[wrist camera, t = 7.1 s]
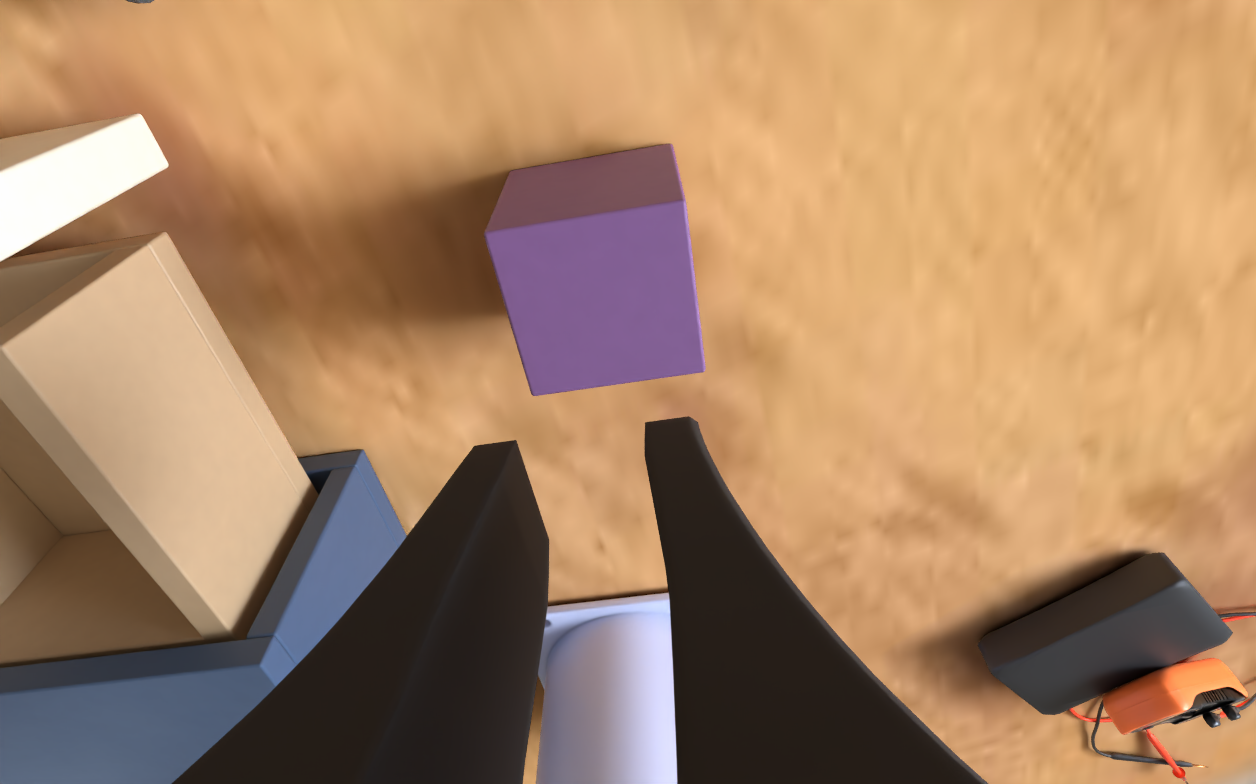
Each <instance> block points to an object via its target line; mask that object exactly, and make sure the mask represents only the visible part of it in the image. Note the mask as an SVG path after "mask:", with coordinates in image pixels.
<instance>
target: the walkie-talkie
mask: <svg viewBox="0 0 1256 784" xmlns="http://www.w3.org/2000/svg"><path fill="white" fill-rule="evenodd" d="M127 1H129V2H133V3H151V2H152V1H154V0H127Z"/></svg>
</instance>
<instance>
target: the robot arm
mask: <svg viewBox="0 0 1256 784" xmlns="http://www.w3.org/2000/svg"><path fill="white" fill-rule="evenodd" d="M645 460H646V465H647V471H648V476H649V481H650V487H651V492H652V498H653V503H654V508H655V514H656V519H657V524H658V530H659V535H660V541H661V546H662V551H663V557H664V562H665V568H666V575H667V583H668V591H669V593H661V594H652V595H643V596H635V597H626V598H617V599H609V600H600V601H591V602H583V603H574V604H565V605H557V606H548V581H549V538H548V535H547V532H546V529H545V526H544V523H543V520H542V517H541V514H540V511H539V508H538V505H537V502H536V499H535V496H534V493H533V490H532V487H531V484H530V481H529V478H528V475H527V472H526V469H525V466H524V463H523V460H522V457H521V454H520V451H519V448H518V444H517V441H516V440H514V441H506V442H499V443H492V444H484V445H477V446H474V447H473V448H472V450H471V451H470V452H469V454H468V455H467V456H466V458H465V459H464V460H463V462H462V463H461V464H460V466H459V467H458V468H457V470H456V471H455V472H454V474H453V475H452V476H451V478H450V479H449V480H448V482H447V483H446V485H445V486H444V487H443V489H442V490H441V491H440V493H439V494H438V496H437V497H436V498H435V500H434V501H433V502H432V504H431V505H430V506H429V508H428V509H427V510H426V512H425V513H424V515H423V516H422V517H421V519H420V520H419V521H418V523H417V524H416V525H415V526H414V528H413V529H412V530H411V532H410V533H409V534H408V536H407V537H406V538H405V540H404V541H403V542H402V543H401V545H400V546H399V547H398V549H397V550H396V551H395V553H394V554H393V555H392V556H391V558H390V559H389V560H388V562H387V563H386V564H385V565H384V567H383V568H382V569H381V570H380V572H379V573H378V574H377V575H376V576H375V577H374V579H373V580H372V581H371V582H370V583H369V585H368V586H367V587H366V588H365V589H364V591H363V592H362V593H361V594H360V595H359V597H358V598H357V599H356V600H355V601H354V603H353V604H352V605H351V606H350V607H349V609H348V610H347V611H346V612H345V613H344V614H343V616H342V617H341V618H340V619H339V620H338V622H337V623H336V624H335V625H334V626H333V627H332V628H331V629H330V630H329V632H328V633H327V634H326V635H325V636H324V637H323V638H322V639H321V640H320V641H319V642H318V643H317V645H316V646H315V647H314V648H313V649H312V650H311V651H310V652H309V653H308V654H307V655H306V656H305V657H304V658H303V659H302V660H301V661H300V662H299V663H298V665H297V666H296V667H295V668H294V669H293V670H292V671H291V672H290V673H289V674H288V675H287V676H286V677H285V678H284V679H283V680H282V681H281V682H280V683H279V684H278V685H277V686H276V687H275V688H274V689H273V690H272V691H271V692H270V693H269V694H268V695H267V696H266V697H265V698H264V699H263V700H262V701H261V702H260V703H259V704H258V705H257V706H256V707H255V708H254V709H253V710H252V711H250V712H249V713H248V714H247V715H246V716H245V717H244V718H243V719H242V720H241V721H239V722H238V723H237V724H236V725H235V726H234V727H233V728H232V729H231V730H230V731H229V732H227V733H226V734H225V735H224V736H223V737H222V738H221V739H220V740H219V741H218V742H217V743H215V744H214V745H213V746H212V747H211V748H210V749H209V750H208V751H207V752H206V753H205V754H203V755H202V756H201V757H200V758H199V759H198V760H197V761H196V762H195V763H194V764H193V765H191V766H190V767H189V768H188V769H187V770H186V771H185V772H184V773H183V774H182V775H180V776H179V777H178V778H177V779H176V780H175V781H174V782H173V783H171V784H523V775H524V765H525V757H526V751H527V744H528V737H529V731H530V724H531V717H532V710H533V704H534V697H535V690H536V684H537V677H538V676H539V678H540V681H541V683H542V686H543V688H544V691H545V692H544V702H543V713H542V723H541V734H540V744H539V755H538V765H537V776H536V784H988V783H987V782H986V781H985V780H984V779H982V778H981V777H980V776H979V775H978V774H977V773H976V772H975V771H974V770H972V769H971V768H970V767H969V766H968V765H967V764H966V763H965V762H963V761H962V760H961V759H960V758H959V757H958V756H957V755H956V754H955V753H954V752H953V751H952V750H951V749H950V748H948V747H947V746H946V745H945V744H944V743H943V742H942V741H941V740H940V739H939V738H938V737H937V736H936V735H935V734H934V733H933V732H932V731H931V730H930V729H929V728H928V727H927V726H926V725H925V724H924V723H923V722H922V721H921V720H920V719H919V718H918V717H917V716H916V715H915V714H914V713H913V712H912V711H911V710H910V709H908V708H907V707H906V706H905V705H904V704H903V703H902V702H901V701H900V700H899V699H898V698H897V697H896V696H895V695H894V694H893V693H892V692H891V691H890V690H889V689H888V688H887V687H886V686H885V685H884V684H883V683H882V682H881V681H880V680H879V679H878V678H877V677H876V676H875V675H874V674H873V673H872V672H871V671H870V670H869V669H868V668H867V666H866V665H865V664H864V663H863V662H862V661H861V660H860V659H859V658H858V657H857V656H856V655H855V653H854V652H853V651H852V650H851V649H850V648H849V647H848V646H847V645H846V644H845V643H844V642H843V641H842V639H841V638H840V637H839V636H838V635H837V634H836V633H835V631H834V630H833V629H832V628H831V627H830V626H829V625H828V623H827V622H826V621H825V620H824V619H823V618H822V617H821V615H820V614H819V613H818V612H817V611H816V610H815V608H814V607H813V606H812V605H811V604H810V602H809V601H808V600H807V599H806V598H805V596H804V595H803V594H802V593H801V591H800V590H799V589H798V588H797V586H796V585H795V584H794V583H793V581H792V580H791V579H790V578H789V576H788V575H787V574H786V572H785V571H784V570H783V568H782V567H781V566H780V564H779V563H778V562H777V560H776V559H775V558H774V556H773V555H772V554H771V552H770V551H769V550H768V548H767V547H766V545H765V544H764V543H763V541H762V540H761V538H760V537H759V535H758V534H757V533H756V531H755V530H754V528H753V527H752V525H751V524H750V522H749V521H748V519H747V518H746V516H745V514H744V513H743V511H742V510H741V508H740V507H739V505H738V504H737V502H736V500H735V499H734V497H733V496H732V494H731V493H730V491H729V489H728V487H727V486H726V484H725V482H724V481H723V479H722V477H721V475H720V473H719V471H718V469H717V468H716V466H715V464H714V462H713V460H712V458H711V456H710V454H709V452H708V450H707V447H706V445H705V443H704V440H703V437H702V435H701V432H700V429H699V425H698V422H697V421H695V420H694V419H692V418H691V417H682V418H674V419H667V420H660V421H653V422H645Z"/></svg>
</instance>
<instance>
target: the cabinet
mask: <svg viewBox="0 0 1256 784" xmlns="http://www.w3.org/2000/svg"><path fill="white" fill-rule="evenodd" d="M298 460H299V462H300V464H301V465H302V467H303V469H304V471H305V472H306V474H307V476H308V478H309V479H310V481H311V483H312V484H313V486H314V488H315V490H316V491H317V493H318V495H319V496H318V498H317V500H316V502H315V504H314V506H313V508H312V510H311V512H310V514H309V516H308V517H307V519H306V521H305V523H304V525H303V527H302V529H301V531H300V533H299V535H298V537H297V539H296V541H295V543H294V545H293V547H292V549H291V550H290V552H289V554H288V556H287V558H286V560H285V562H284V564H283V566H282V568H281V570H280V572H279V574H278V576H277V578H276V580H275V582H274V583H273V585H272V587H271V589H270V591H269V593H268V595H267V597H266V599H265V601H264V603H263V605H262V607H261V609H260V611H259V613H258V615H257V616H256V618H255V620H254V622H253V624H252V626H251V628H250V630H249V632H248V634H247V637H246V638H247V639H245V640H237V641H228V642H220V643H211V644H202V645H194V646H185V647H176V648H168V649H159V650H150V651H142V652H133V653H125V654H116V655H107V656H99V657H90V658H81V659H73V660H64V661H55V662H47V663H38V664H30V665H21V666H12V667H4V668H0V784H171V783H173V782H174V781H175V780H176V779H177V778H178V777H179V776H180V775H182V774H183V773H184V772H185V771H186V770H187V769H188V768H189V767H190V766H191V765H193V764H194V763H195V762H196V761H197V760H198V759H199V758H200V757H201V756H202V755H203V754H205V753H206V752H207V751H208V750H209V749H210V748H211V747H212V746H213V745H214V744H215V743H217V742H218V741H219V740H220V739H221V738H222V737H223V736H224V735H225V734H226V733H227V732H229V731H230V730H231V729H232V728H233V727H234V726H235V725H236V724H237V723H238V722H239V721H241V720H242V719H243V718H244V717H245V716H246V715H247V714H248V713H249V712H250V711H252V710H253V709H254V708H255V707H256V706H257V705H258V704H259V703H260V702H261V701H262V700H263V699H264V698H265V697H266V696H267V695H268V694H269V693H270V692H271V691H272V690H273V689H274V688H275V687H276V686H277V685H278V684H279V683H280V682H281V681H282V680H283V679H284V678H285V677H286V676H287V675H288V674H289V673H290V672H291V671H292V670H293V669H294V668H295V667H296V666H297V665H298V663H299V662H300V661H301V660H302V659H303V658H304V657H305V656H306V655H307V654H308V653H309V652H310V651H311V650H312V649H313V648H314V647H315V646H316V645H317V643H318V642H319V641H320V640H321V639H322V638H323V637H324V636H325V635H326V634H327V633H328V632H329V630H330V629H331V628H332V627H333V626H334V625H335V624H336V623H337V622H338V620H339V619H340V618H341V617H342V616H343V614H344V613H345V612H346V611H347V610H348V609H349V607H350V606H351V605H352V604H353V603H354V601H355V600H356V599H357V598H358V597H359V595H360V594H361V593H362V592H363V591H364V589H365V588H366V587H367V586H368V585H369V583H370V582H371V581H372V580H373V579H374V577H375V576H376V575H377V574H378V573H379V572H380V570H381V569H382V568H383V567H384V565H385V564H386V563H387V562H388V560H389V559H390V558H391V556H392V555H393V554H394V553H395V551H396V550H397V549H398V547H399V546H400V545H401V543H402V542H403V541H404V540H405V538H406V537H407V536H406V534H405V532H404V530H403V528H402V526H401V524H400V522H399V520H398V518H397V516H396V514H395V512H394V510H393V508H392V506H391V504H390V502H389V500H388V498H387V496H386V494H385V492H384V490H383V488H382V486H381V484H380V482H379V480H378V478H377V476H376V474H375V472H374V470H373V468H372V466H371V464H370V462H369V460H368V458H367V456H366V454H365V452H364V450H356V451H349V452H341V453H334V454H327V455H320V456H312V457H305V458H298Z"/></svg>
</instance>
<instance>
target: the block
mask: <svg viewBox="0 0 1256 784" xmlns="http://www.w3.org/2000/svg"><path fill="white" fill-rule="evenodd" d="M484 237H485V241H486V244H487V247H488V251H489V254H490V257H491V261H492V264H493V267H494V271H495V274H496V277H497V281H498V284H499V287H500V291H501V294H502V298H503V301H504V304H505V308H506V311H507V314H508V318H509V321H510V324H511V328H512V331H513V334H514V338H515V341H516V344H517V348H518V351H519V354H520V358H521V361H522V364H523V368H524V371H525V374H526V378H527V381H528V384H529V388H530V391H531V394H532V395H533V396H538V395H545V394H552V393H559V392H566V391H573V390H580V389H587V388H594V387H602V386H609V385H616V384H623V383H630V382H637V381H644V380H651V379H658V378H665V377H672V376H679V375H686V374H693V373H700V372H704V371H705V369H706V367H705V359H704V350H703V342H702V333H701V325H700V316H699V308H698V299H697V291H696V282H695V274H694V265H693V257H692V248H691V240H690V231H689V223H688V214H687V206H686V200H685V195H684V191H683V187H682V183H681V178H680V174H679V170H678V166H677V161H676V157H675V153H674V149H673V146H672V144H664V145H659V146H653V147H647V148H641V149H635V150H629V151H623V152H617V153H612V154H606V155H600V156H594V157H588V158H582V159H576V160H571V161H565V162H559V163H553V164H547V165H541V166H535V167H530V168H524V169H518V170H512V171H510V172H509V175H508V177H507V179H506V182H505V184H504V187H503V189H502V191H501V194H500V196H499V198H498V201H497V203H496V206H495V208H494V210H493V213H492V215H491V217H490V220H489V222H488V225H487V227H486V229H485V232H484Z"/></svg>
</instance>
